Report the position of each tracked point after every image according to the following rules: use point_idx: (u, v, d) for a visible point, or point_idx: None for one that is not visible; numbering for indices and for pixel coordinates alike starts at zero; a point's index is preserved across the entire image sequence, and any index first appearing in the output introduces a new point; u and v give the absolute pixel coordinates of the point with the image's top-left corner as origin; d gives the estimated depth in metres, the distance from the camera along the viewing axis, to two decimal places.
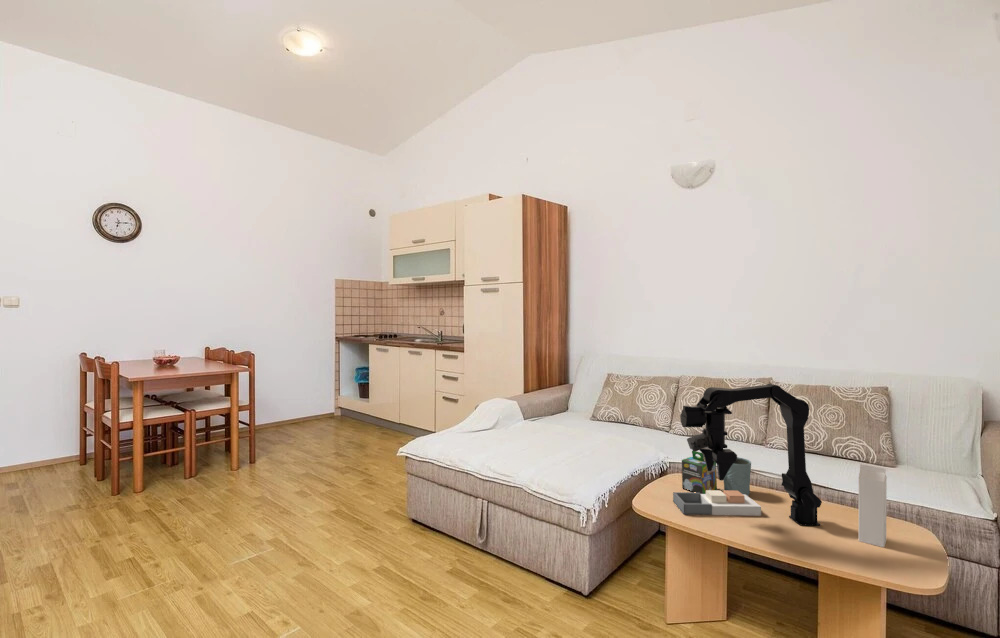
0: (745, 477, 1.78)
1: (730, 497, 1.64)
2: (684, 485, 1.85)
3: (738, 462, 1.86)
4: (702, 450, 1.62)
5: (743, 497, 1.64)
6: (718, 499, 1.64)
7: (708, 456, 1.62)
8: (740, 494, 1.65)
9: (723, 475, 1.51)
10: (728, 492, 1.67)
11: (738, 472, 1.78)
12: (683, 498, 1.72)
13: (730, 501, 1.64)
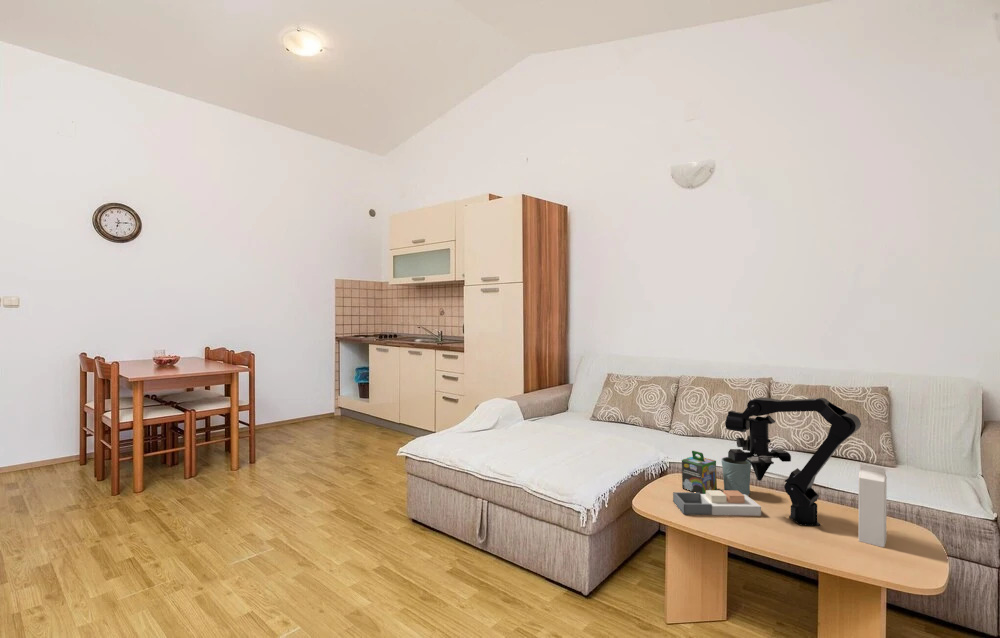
0: (745, 477, 1.78)
1: (730, 497, 1.64)
2: (684, 485, 1.85)
3: (738, 462, 1.86)
4: None
5: (743, 497, 1.64)
6: (718, 499, 1.64)
7: None
8: (740, 494, 1.65)
9: (757, 475, 1.66)
10: (728, 492, 1.67)
11: (738, 472, 1.78)
12: (683, 498, 1.72)
13: (730, 501, 1.64)
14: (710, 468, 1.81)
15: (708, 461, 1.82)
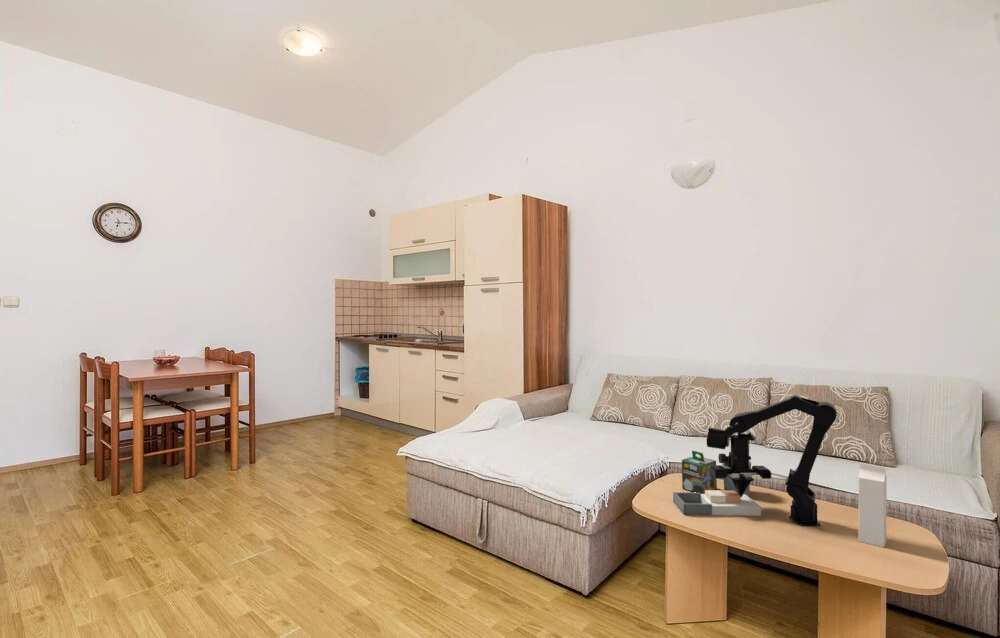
0: None
1: (726, 497, 1.64)
2: (684, 485, 1.85)
3: None
4: (739, 475, 1.69)
5: (739, 497, 1.64)
6: (717, 499, 1.64)
7: None
8: (736, 494, 1.65)
9: (737, 492, 1.66)
10: (724, 492, 1.67)
11: None
12: (683, 498, 1.72)
13: (726, 501, 1.64)
14: None
15: (708, 461, 1.82)
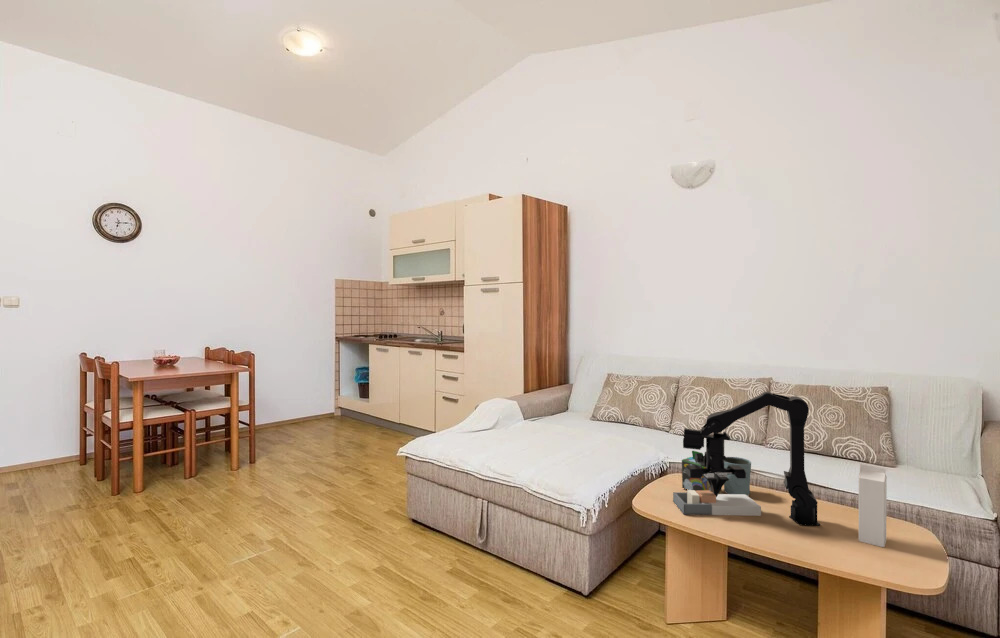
0: None
1: (702, 497, 1.64)
2: (684, 485, 1.85)
3: (738, 462, 1.86)
4: (714, 475, 1.69)
5: (715, 497, 1.64)
6: (695, 502, 1.64)
7: None
8: (712, 494, 1.65)
9: (713, 491, 1.66)
10: (700, 492, 1.67)
11: None
12: (683, 498, 1.72)
13: (702, 501, 1.64)
14: None
15: None
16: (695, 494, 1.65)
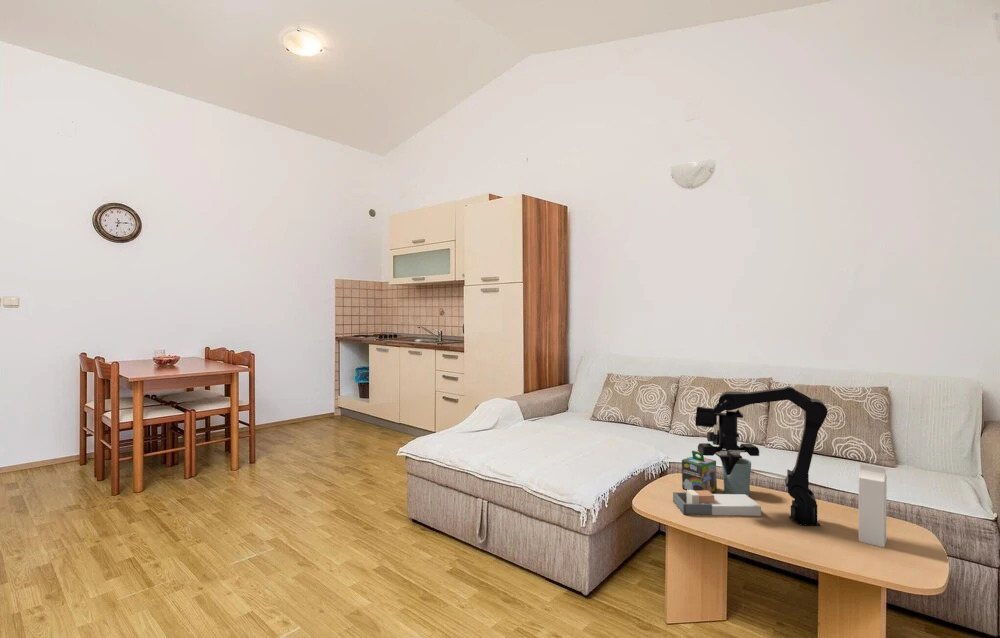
0: (745, 477, 1.78)
1: (700, 497, 1.64)
2: (684, 485, 1.85)
3: (738, 462, 1.86)
4: (727, 453, 1.68)
5: (713, 497, 1.64)
6: (695, 502, 1.64)
7: None
8: (710, 494, 1.65)
9: (725, 469, 1.66)
10: (698, 492, 1.67)
11: (738, 472, 1.78)
12: (683, 498, 1.72)
13: (700, 501, 1.64)
14: (710, 468, 1.81)
15: (708, 461, 1.82)
16: (695, 494, 1.65)
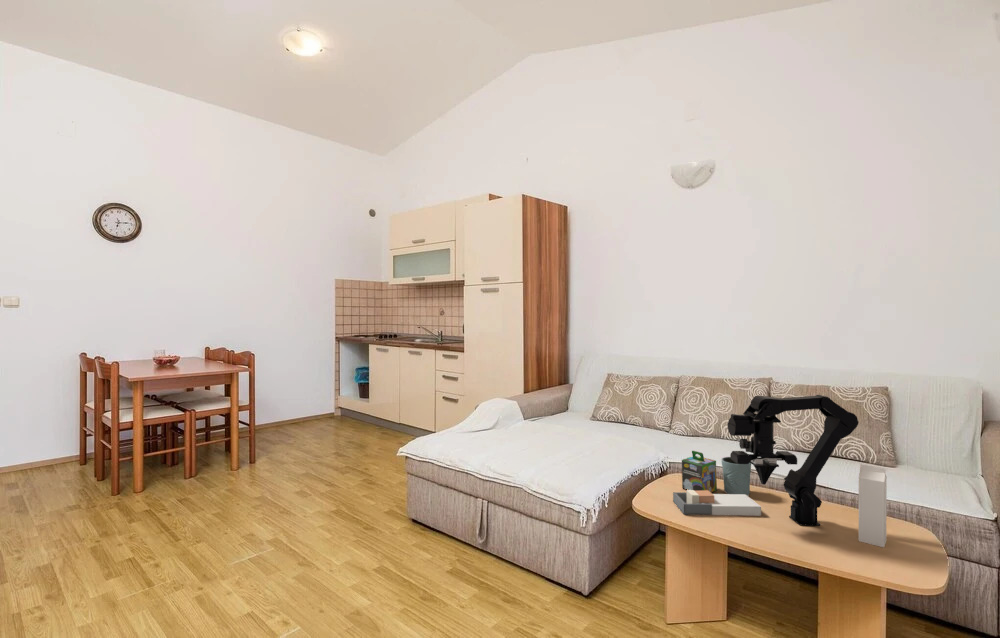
0: (745, 477, 1.78)
1: (700, 497, 1.64)
2: (684, 485, 1.85)
3: None
4: None
5: (713, 497, 1.64)
6: (695, 502, 1.64)
7: None
8: (710, 494, 1.65)
9: (761, 479, 1.56)
10: (698, 492, 1.67)
11: (738, 472, 1.78)
12: (683, 498, 1.72)
13: (700, 501, 1.64)
14: (710, 468, 1.81)
15: (708, 461, 1.82)
16: (695, 494, 1.65)
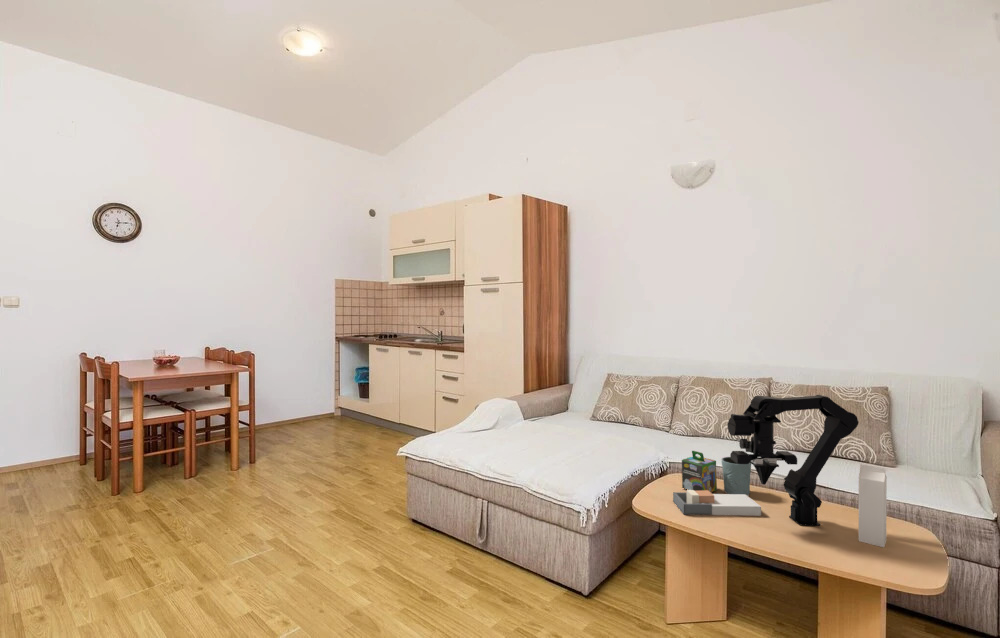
0: (745, 477, 1.78)
1: (700, 497, 1.64)
2: (684, 485, 1.85)
3: None
4: None
5: (713, 497, 1.64)
6: (695, 502, 1.64)
7: None
8: (710, 494, 1.65)
9: (761, 479, 1.56)
10: (698, 492, 1.67)
11: (738, 472, 1.78)
12: (683, 498, 1.72)
13: (700, 501, 1.64)
14: (710, 468, 1.81)
15: (708, 461, 1.82)
16: (695, 494, 1.65)
